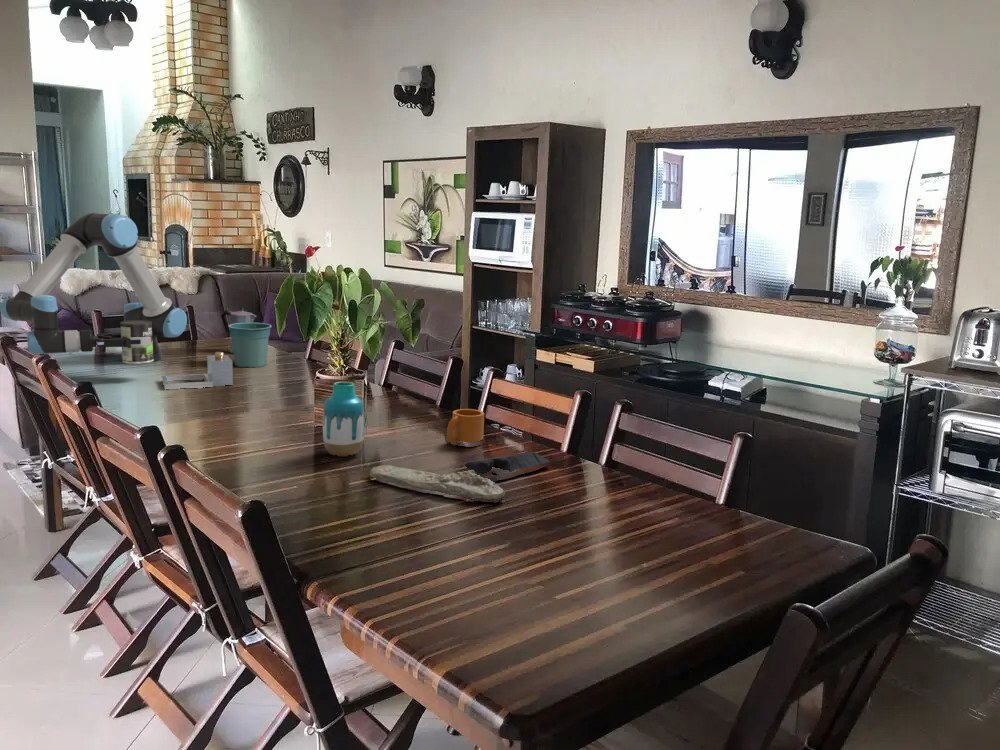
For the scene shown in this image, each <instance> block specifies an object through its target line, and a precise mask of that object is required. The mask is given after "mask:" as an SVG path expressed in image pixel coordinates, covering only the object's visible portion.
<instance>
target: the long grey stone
mask: <svg viewBox="0 0 1000 750" xmlns="http://www.w3.org/2000/svg"><path fill="white" fill-rule="evenodd" d="M369 474H370V476H371V477H373V478H376V479H380V480H382V481H385V482H391V483H396V484H398V485H402V486H411V487H416V488H420V489H425V490H430V491H438V492H441V493H445V494H449V495H457V496H467V497H471V498H483V499H498V498H501V497H503V496H504V495H505V496H506V492H505V490H504V489H503V488H502V487H500V485H499V484H497V483H496V482H493V481H491V480H490V479H488V478H483V477H481V476H480V475H477V474H476V473H475V471H474V470H468V471H463V470H462V471H457V472H456V473H455V472H450V473H447V474H445V473H441V474H440V473H439V474H438V473H435V472H432V471H431V472H429V471H423V470H416V469H413V468H407V467H406V468H405V467H400V466H396V465H395V466H394V465H393V464H389V465H388V464H383V465H378V466H372V468H371V469H370V470H369ZM505 496H504V497H505Z"/></svg>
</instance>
